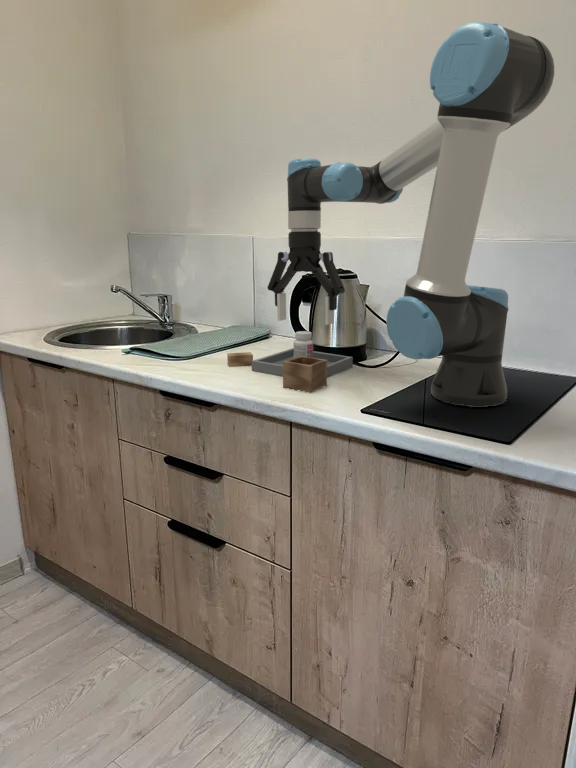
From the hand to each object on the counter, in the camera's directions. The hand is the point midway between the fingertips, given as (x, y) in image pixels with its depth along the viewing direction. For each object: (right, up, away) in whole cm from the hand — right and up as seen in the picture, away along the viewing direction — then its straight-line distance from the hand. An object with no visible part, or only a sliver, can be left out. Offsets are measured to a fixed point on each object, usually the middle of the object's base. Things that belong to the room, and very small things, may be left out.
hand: (305, 322), depth 138 cm
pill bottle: (0, -11, +4) cm, 11 cm away
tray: (0, -11, +4) cm, 12 cm away
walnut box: (0, -16, -11) cm, 19 cm away
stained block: (-16, -10, +7) cm, 20 cm away
